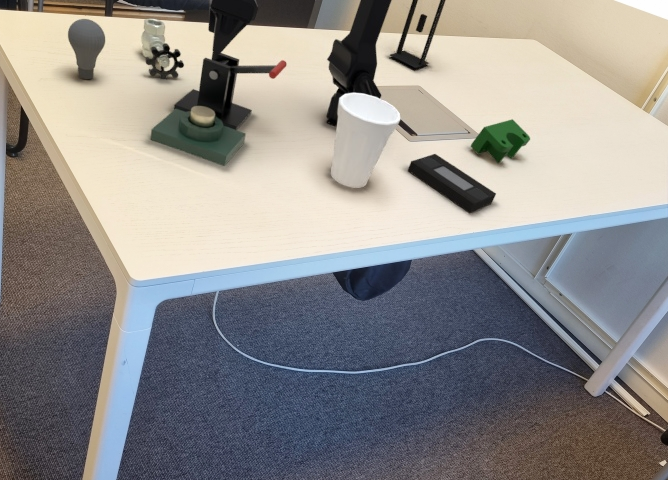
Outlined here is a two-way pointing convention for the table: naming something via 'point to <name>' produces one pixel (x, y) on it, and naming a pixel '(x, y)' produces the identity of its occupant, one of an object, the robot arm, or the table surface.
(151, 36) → the valve
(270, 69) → the lever
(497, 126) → the clamp
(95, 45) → the light bulb
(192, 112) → the button
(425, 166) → the vhs tape
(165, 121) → the button box
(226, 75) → the bracket
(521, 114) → the table surface
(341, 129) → the cup
